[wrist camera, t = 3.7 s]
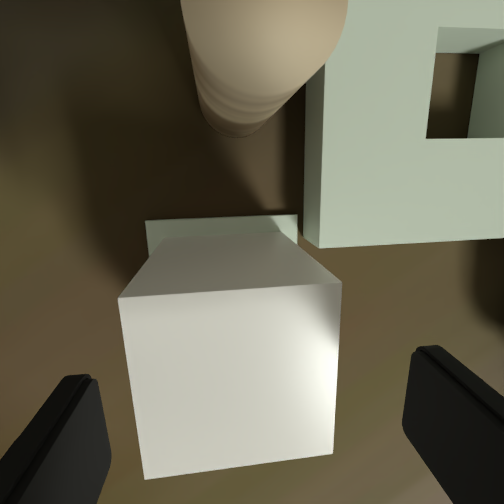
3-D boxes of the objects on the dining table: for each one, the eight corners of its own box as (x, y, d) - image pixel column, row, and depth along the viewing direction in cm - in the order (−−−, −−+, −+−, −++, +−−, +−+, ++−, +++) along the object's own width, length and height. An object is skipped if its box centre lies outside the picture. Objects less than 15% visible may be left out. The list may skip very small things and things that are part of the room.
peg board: (525, 225, 21) (575, 233, 18) (303, 237, 19) (319, 248, 16) (584, -56, 17) (660, -103, 14) (308, -75, 15) (331, -135, 12)
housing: (281, 333, 20) (332, 453, 12) (175, 343, 19) (145, 479, 11) (281, 231, 18) (342, 282, 10) (164, 237, 18) (117, 297, 9)
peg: (271, 137, 17) (344, 90, 8) (201, 138, 17) (186, 90, 7) (270, 59, 16) (353, -106, 7) (196, 57, 16) (171, -121, 6)
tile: (294, 342, 21) (309, 373, 18) (161, 354, 20) (152, 390, 17) (295, 213, 19) (313, 222, 15) (146, 220, 18) (131, 230, 14)
